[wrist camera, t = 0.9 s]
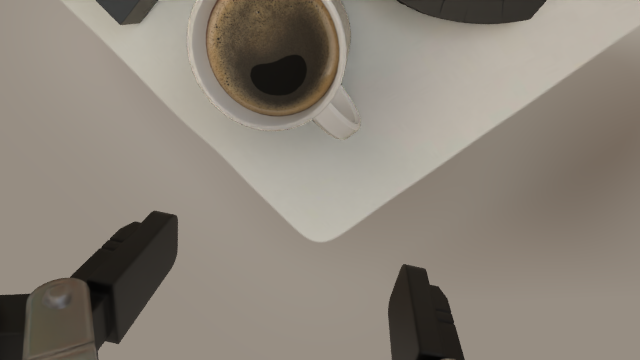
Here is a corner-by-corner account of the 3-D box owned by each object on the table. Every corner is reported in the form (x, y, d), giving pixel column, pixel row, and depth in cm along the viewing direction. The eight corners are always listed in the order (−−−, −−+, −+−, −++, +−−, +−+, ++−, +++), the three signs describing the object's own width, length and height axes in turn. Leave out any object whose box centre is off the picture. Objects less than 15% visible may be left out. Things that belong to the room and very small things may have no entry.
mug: (358, -33, 30) (357, -50, 20) (360, 115, 35) (361, 161, 25) (230, -22, 31) (168, -33, 21) (251, 119, 36) (209, 164, 26)
